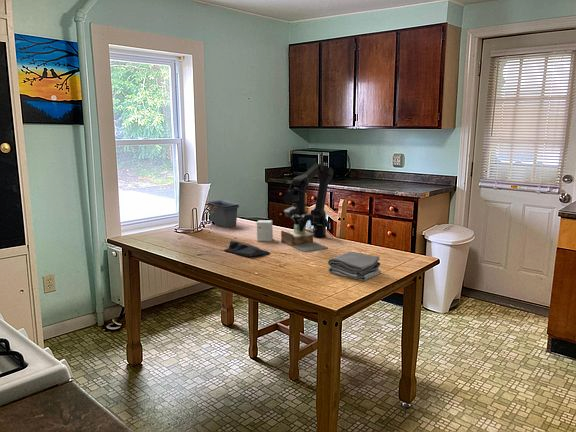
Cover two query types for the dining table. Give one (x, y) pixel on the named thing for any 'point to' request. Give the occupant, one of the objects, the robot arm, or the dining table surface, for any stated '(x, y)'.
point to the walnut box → (295, 239)
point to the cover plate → (297, 232)
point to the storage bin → (223, 212)
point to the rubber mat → (309, 247)
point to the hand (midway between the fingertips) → (299, 230)
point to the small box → (264, 230)
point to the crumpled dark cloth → (245, 249)
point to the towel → (355, 265)
